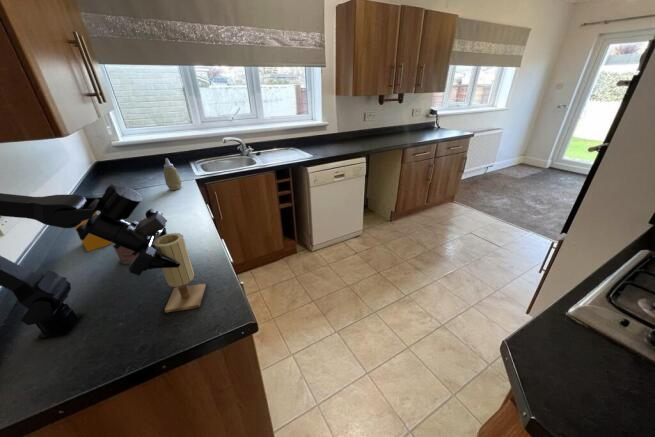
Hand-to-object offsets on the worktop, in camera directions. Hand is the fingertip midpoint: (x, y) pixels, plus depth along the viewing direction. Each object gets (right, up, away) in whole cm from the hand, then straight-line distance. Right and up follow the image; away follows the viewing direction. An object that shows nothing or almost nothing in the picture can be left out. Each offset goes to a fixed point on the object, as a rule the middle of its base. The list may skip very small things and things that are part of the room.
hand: (180, 258), depth 74 cm
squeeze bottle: (-49, +28, +84) cm, 102 cm away
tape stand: (-1, -13, +5) cm, 14 cm away
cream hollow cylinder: (-1, -6, +3) cm, 7 cm away
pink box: (-29, -4, +22) cm, 37 cm away
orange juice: (-51, +1, +33) cm, 61 cm away
